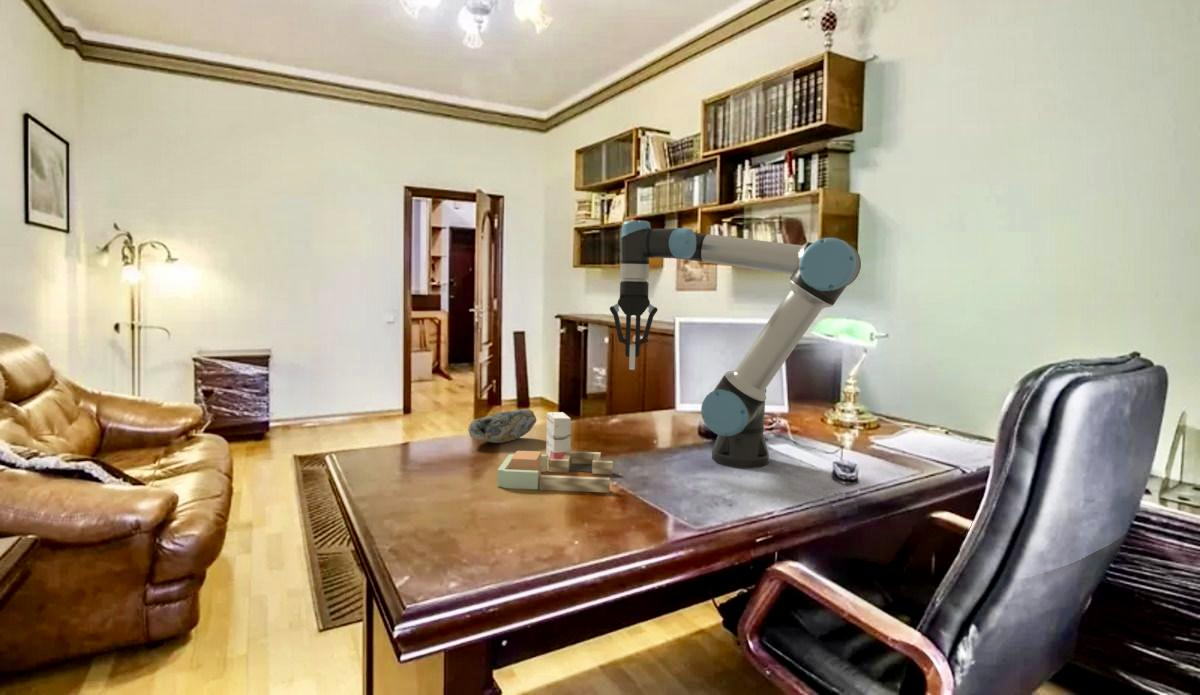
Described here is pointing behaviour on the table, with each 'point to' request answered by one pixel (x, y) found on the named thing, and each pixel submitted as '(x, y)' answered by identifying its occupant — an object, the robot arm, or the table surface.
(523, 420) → the stone
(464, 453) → the table surface
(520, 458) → the block
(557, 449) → the ink box
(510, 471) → the dock
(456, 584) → the table surface
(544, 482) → the wooden frame piece
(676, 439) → the table surface
